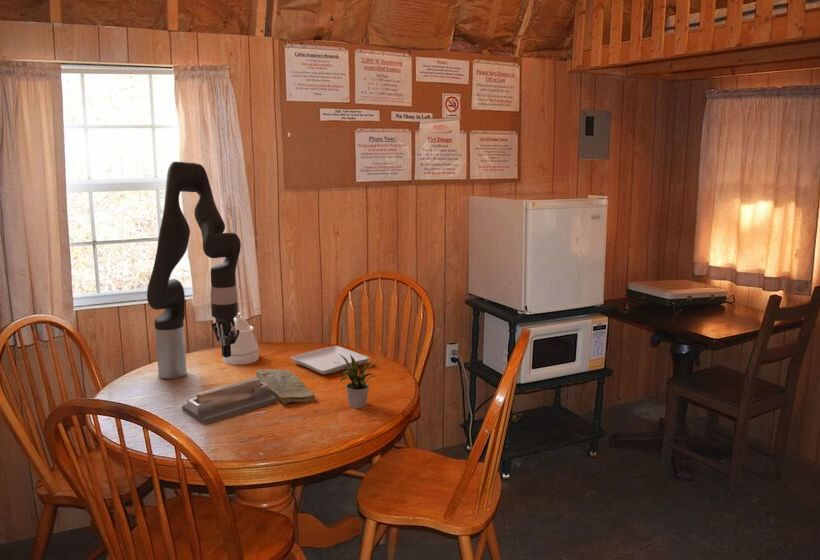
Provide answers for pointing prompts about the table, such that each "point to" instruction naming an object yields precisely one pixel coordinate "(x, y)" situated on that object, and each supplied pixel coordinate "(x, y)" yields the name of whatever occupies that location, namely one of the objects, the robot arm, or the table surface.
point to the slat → (229, 392)
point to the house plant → (356, 384)
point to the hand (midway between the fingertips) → (226, 356)
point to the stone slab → (285, 386)
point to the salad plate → (328, 359)
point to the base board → (232, 408)
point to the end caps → (208, 405)
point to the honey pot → (243, 344)
